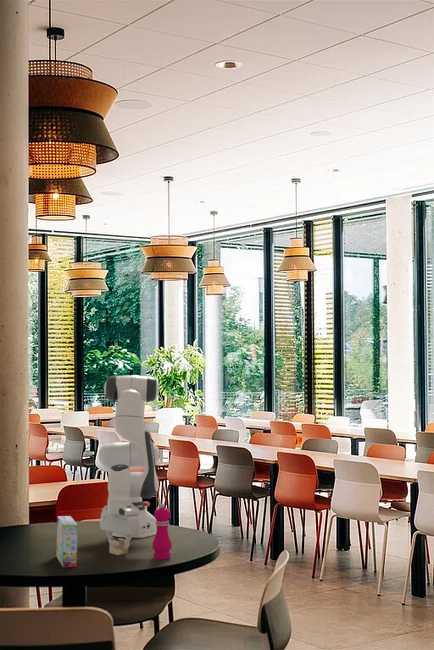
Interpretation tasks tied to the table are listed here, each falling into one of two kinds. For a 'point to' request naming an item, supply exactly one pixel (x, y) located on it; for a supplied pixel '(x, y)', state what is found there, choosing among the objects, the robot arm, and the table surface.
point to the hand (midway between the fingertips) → (118, 544)
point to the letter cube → (117, 547)
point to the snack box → (67, 541)
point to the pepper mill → (162, 534)
